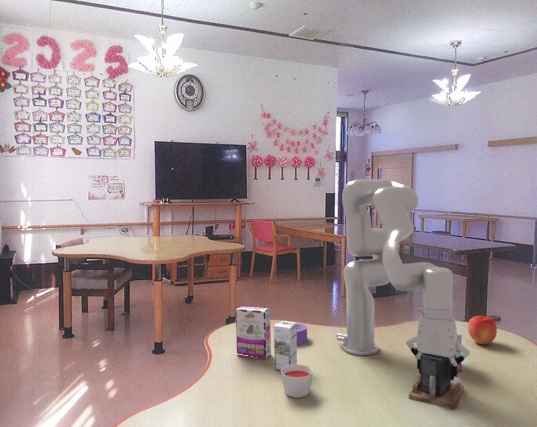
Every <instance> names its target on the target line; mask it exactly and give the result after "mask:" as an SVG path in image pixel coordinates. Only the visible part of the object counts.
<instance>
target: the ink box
mask: <svg viewBox="0 0 537 427" xmlns="http://www.w3.org/2000/svg"><path fill="white" fill-rule="evenodd" d="M456 330H457V341H458V342H459V343H460V344H462V340H463V339H462V333H461V332H460V331H459V330H458V328H457V327H456ZM462 345H463V344H462ZM460 355H462V352H461V351H460V350H459V349H457V352H456V356H457V358H458V357H459V356H460ZM462 362H463V361H462ZM462 362H461V363H460V364H458V369H457V373H458V372H460V373H461V372H462V367H463V366H462ZM451 364H452V362H451Z"/></svg>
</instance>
